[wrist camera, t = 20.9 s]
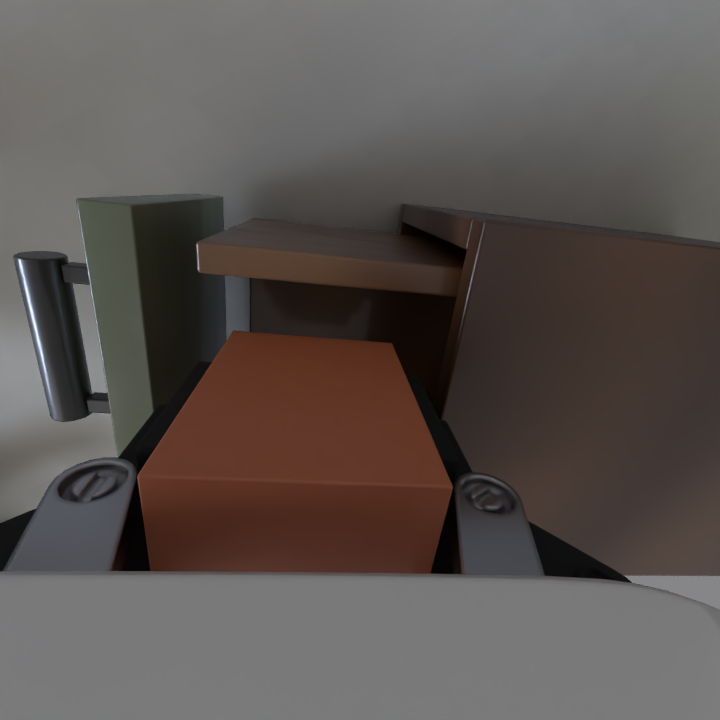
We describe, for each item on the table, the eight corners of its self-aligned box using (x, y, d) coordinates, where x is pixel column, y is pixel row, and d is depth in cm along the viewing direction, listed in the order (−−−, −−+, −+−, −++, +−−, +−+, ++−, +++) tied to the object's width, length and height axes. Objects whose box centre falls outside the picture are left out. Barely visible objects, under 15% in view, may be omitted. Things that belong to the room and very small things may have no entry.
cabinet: (371, 413, 23) (404, 575, 13) (401, 203, 18) (484, 219, 9) (597, 425, 25) (771, 577, 15) (676, 236, 20) (997, 280, 11)
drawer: (121, 398, 20) (-11, 534, 12) (90, 181, 16) (-139, 174, 8) (447, 416, 22) (515, 543, 14) (491, 228, 18) (620, 259, 10)
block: (233, 329, 11) (135, 475, 5) (392, 342, 11) (454, 486, 6) (235, 461, 13) (163, 673, 7) (372, 467, 13) (406, 668, 8)
